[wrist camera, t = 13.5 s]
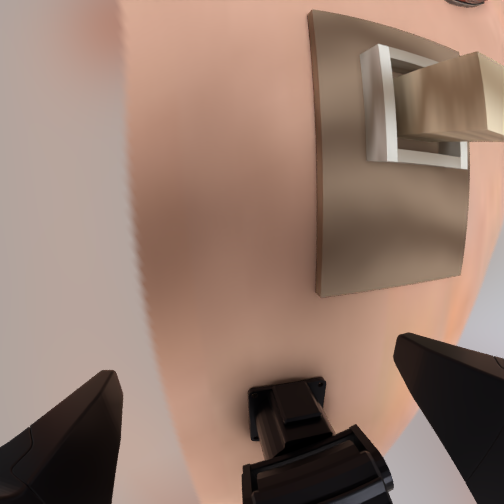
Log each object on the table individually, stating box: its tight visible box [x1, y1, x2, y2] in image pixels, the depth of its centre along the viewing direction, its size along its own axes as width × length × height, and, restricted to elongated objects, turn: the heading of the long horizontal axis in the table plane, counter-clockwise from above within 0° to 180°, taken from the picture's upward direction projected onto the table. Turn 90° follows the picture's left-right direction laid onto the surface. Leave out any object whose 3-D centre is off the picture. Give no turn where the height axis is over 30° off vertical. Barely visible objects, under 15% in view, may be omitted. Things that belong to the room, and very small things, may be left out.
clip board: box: [307, 10, 470, 298], centre depth 18 cm, size 20×14×4 cm
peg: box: [393, 52, 504, 142], centre depth 14 cm, size 4×4×9 cm
